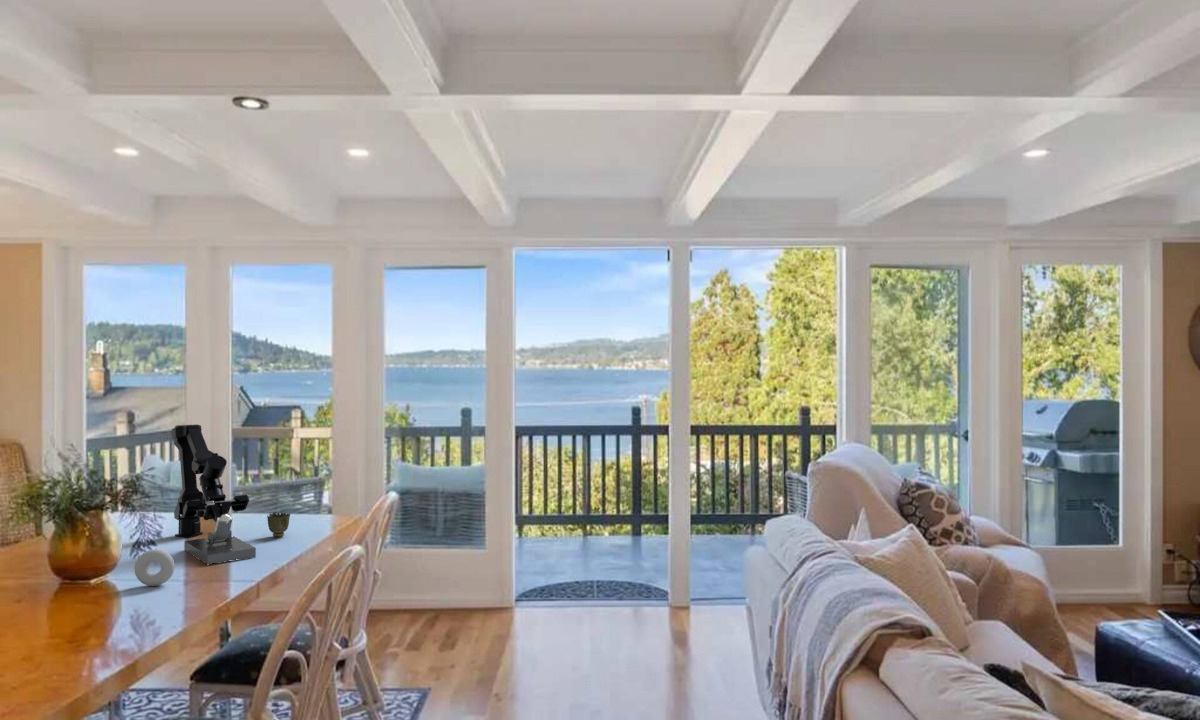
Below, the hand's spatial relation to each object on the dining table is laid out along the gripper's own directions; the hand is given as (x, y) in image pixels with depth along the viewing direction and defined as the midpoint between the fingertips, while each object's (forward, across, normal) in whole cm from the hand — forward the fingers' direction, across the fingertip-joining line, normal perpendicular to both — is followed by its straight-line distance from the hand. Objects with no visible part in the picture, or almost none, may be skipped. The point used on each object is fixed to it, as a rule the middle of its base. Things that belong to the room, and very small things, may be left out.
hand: (222, 527), depth 239 cm
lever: (+2, 0, -4) cm, 5 cm away
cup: (-2, -22, -15) cm, 27 cm away
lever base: (+5, 0, -8) cm, 9 cm away
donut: (+22, +24, +9) cm, 34 cm away
